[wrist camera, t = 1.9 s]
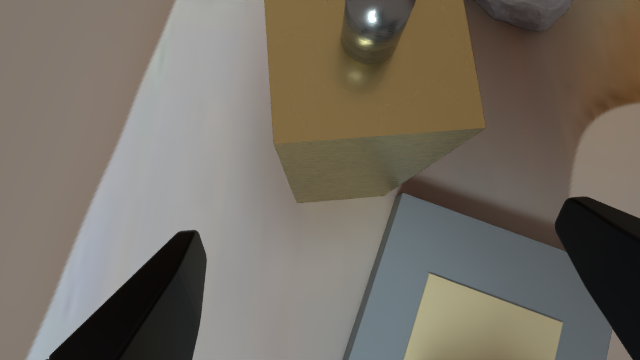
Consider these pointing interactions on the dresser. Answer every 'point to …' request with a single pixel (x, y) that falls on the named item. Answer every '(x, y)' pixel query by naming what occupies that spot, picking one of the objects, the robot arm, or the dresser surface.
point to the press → (472, 294)
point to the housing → (368, 91)
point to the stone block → (526, 12)
